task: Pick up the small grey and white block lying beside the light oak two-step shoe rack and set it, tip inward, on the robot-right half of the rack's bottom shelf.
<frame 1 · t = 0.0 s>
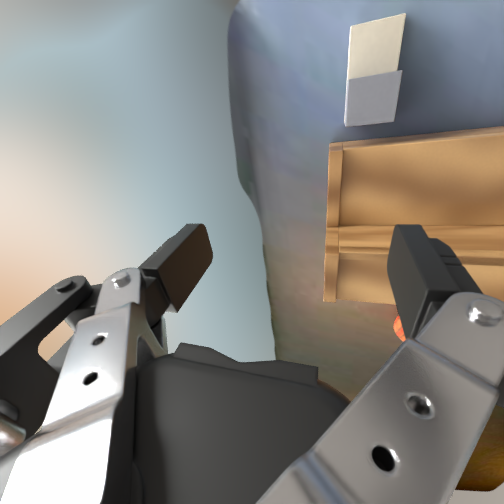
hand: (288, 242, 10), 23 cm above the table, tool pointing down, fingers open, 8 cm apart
grey and white block: (370, 75, 24), on the table
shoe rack: (424, 210, 30), on the table
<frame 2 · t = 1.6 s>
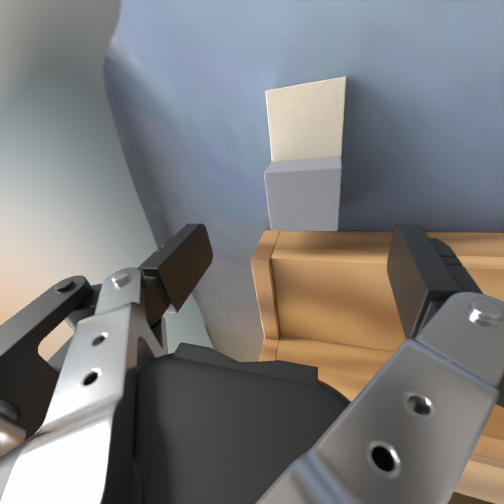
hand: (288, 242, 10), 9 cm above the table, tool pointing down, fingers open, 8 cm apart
grey and white block: (306, 154, 16), on the table
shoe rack: (396, 315, 22), on the table
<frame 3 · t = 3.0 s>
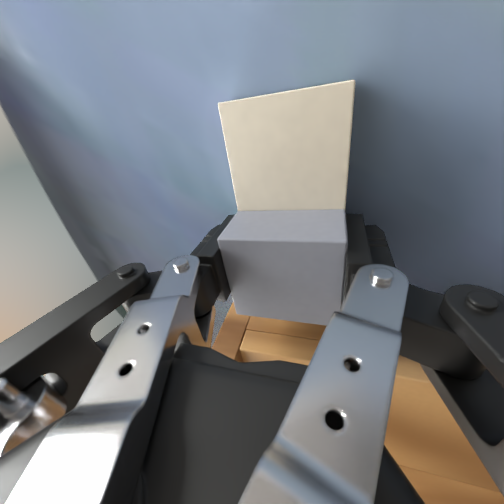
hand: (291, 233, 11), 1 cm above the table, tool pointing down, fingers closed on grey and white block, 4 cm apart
grey and white block: (291, 198, 11), on the table, touching gripper
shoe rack: (418, 400, 16), on the table
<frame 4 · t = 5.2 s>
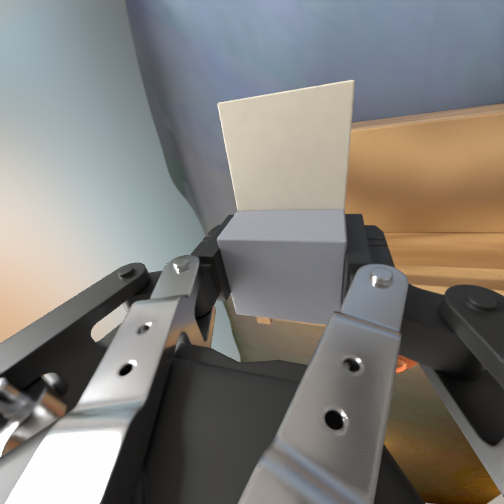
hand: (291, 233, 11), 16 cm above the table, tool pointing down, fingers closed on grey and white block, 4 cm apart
pot: (384, 325, 34), on the table
grey and white block: (291, 198, 11), point 15 cm above the table, touching gripper
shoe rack: (379, 213, 25), on the table
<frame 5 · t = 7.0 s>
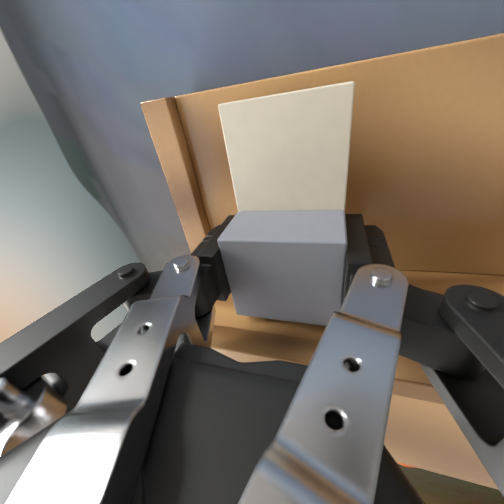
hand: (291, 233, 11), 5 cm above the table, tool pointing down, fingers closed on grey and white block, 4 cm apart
grey and white block: (291, 198, 11), point 5 cm above the table, touching gripper
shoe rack: (385, 232, 15), on the table
when the fingers open (5 cm above the table, at t = 7.7 s): grey and white block stays where it is, resting on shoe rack.
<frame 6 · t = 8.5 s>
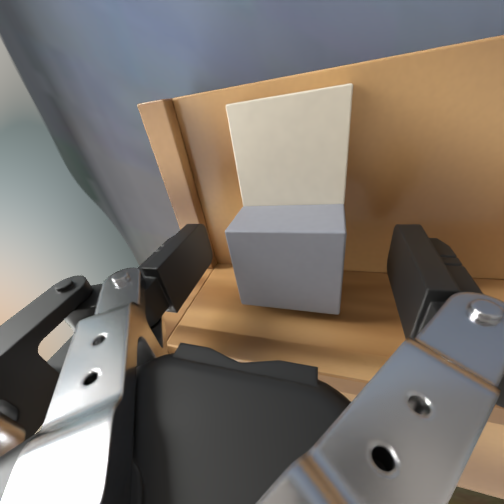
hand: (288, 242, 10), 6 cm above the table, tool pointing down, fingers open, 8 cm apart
grey and white block: (293, 194, 11), point 4 cm above the table, touching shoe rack
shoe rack: (386, 234, 15), on the table
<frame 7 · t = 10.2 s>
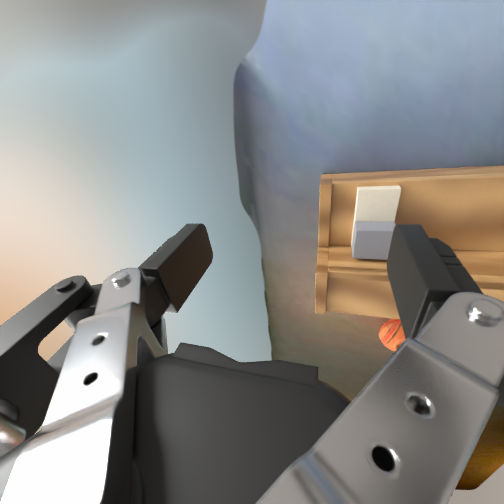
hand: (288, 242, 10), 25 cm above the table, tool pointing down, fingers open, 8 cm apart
pot: (401, 320, 43), on the table
grey and white block: (372, 217, 30), point 4 cm above the table, touching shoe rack
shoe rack: (404, 233, 34), on the table
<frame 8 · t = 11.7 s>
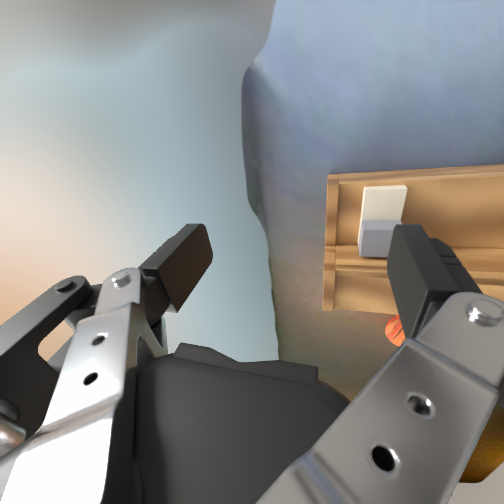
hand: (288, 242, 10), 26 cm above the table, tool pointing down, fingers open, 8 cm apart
pot: (406, 316, 43), on the table
grey and white block: (379, 216, 30), point 4 cm above the table, touching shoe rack
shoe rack: (410, 231, 34), on the table
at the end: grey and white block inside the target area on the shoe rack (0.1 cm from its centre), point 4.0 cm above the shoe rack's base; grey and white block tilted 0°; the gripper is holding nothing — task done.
